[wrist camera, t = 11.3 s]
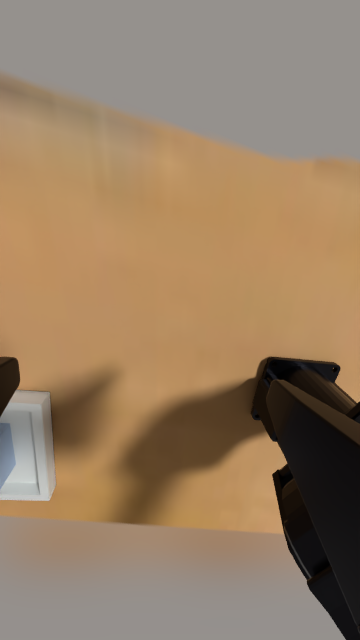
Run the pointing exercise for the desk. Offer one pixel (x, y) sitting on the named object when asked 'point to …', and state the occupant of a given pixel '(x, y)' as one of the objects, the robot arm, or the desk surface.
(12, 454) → the block
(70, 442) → the desk surface
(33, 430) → the tray
